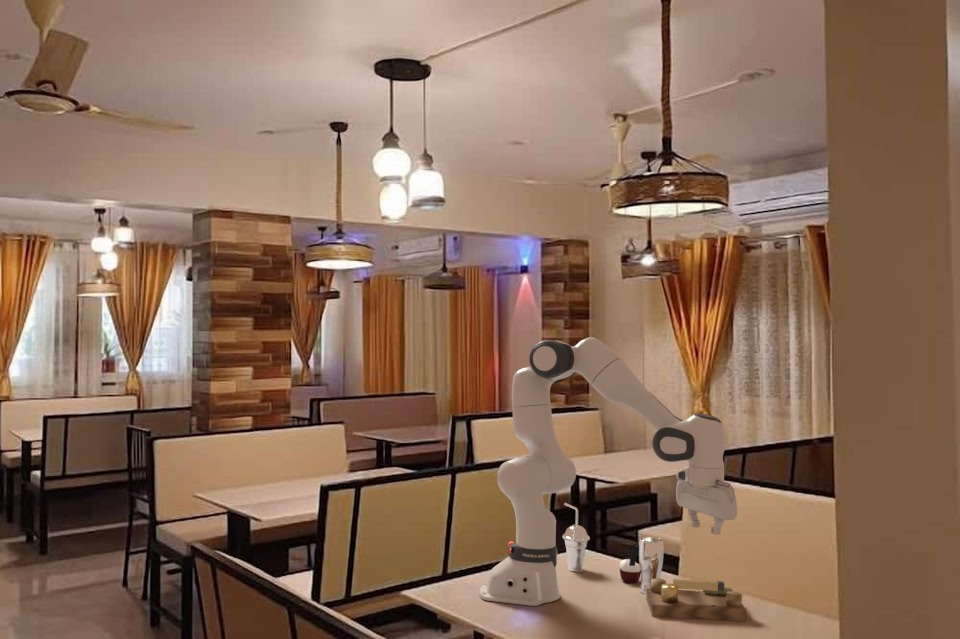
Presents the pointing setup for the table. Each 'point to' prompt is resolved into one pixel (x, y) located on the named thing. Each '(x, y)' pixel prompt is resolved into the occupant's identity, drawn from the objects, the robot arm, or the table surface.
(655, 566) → the beer glass
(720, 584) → the lever handle
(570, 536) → the cup with straw
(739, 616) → the levelling base
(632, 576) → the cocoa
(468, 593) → the table surface
